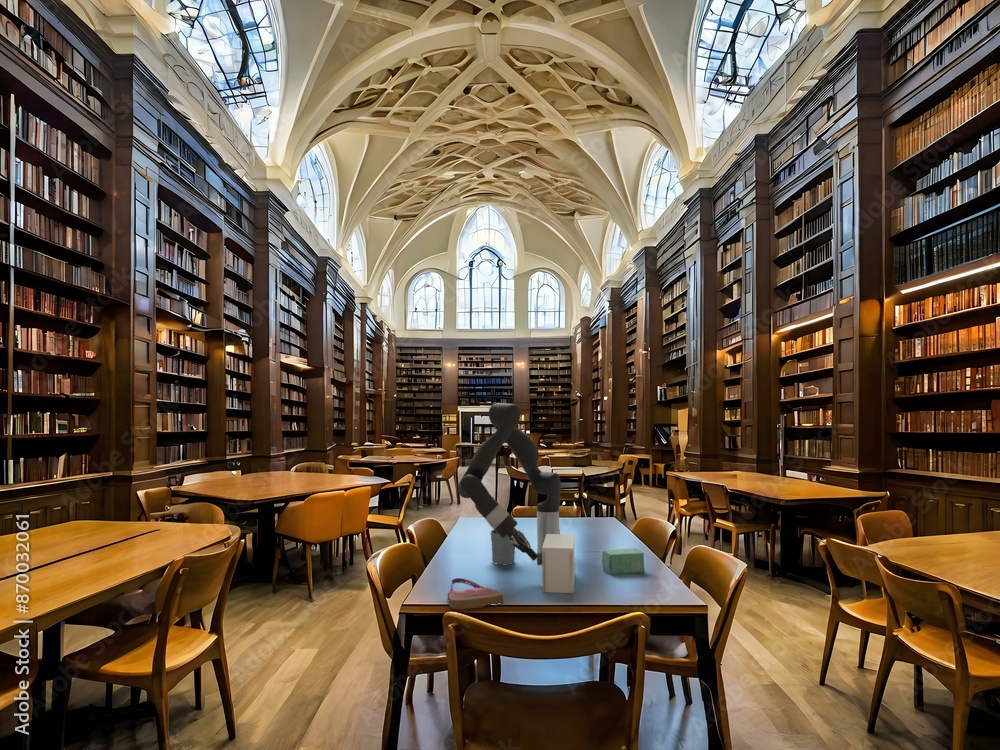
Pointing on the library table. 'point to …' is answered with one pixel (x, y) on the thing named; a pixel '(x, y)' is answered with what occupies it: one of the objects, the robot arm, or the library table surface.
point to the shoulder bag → (473, 596)
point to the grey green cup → (502, 549)
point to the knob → (539, 557)
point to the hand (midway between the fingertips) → (535, 558)
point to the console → (558, 563)
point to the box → (623, 561)
